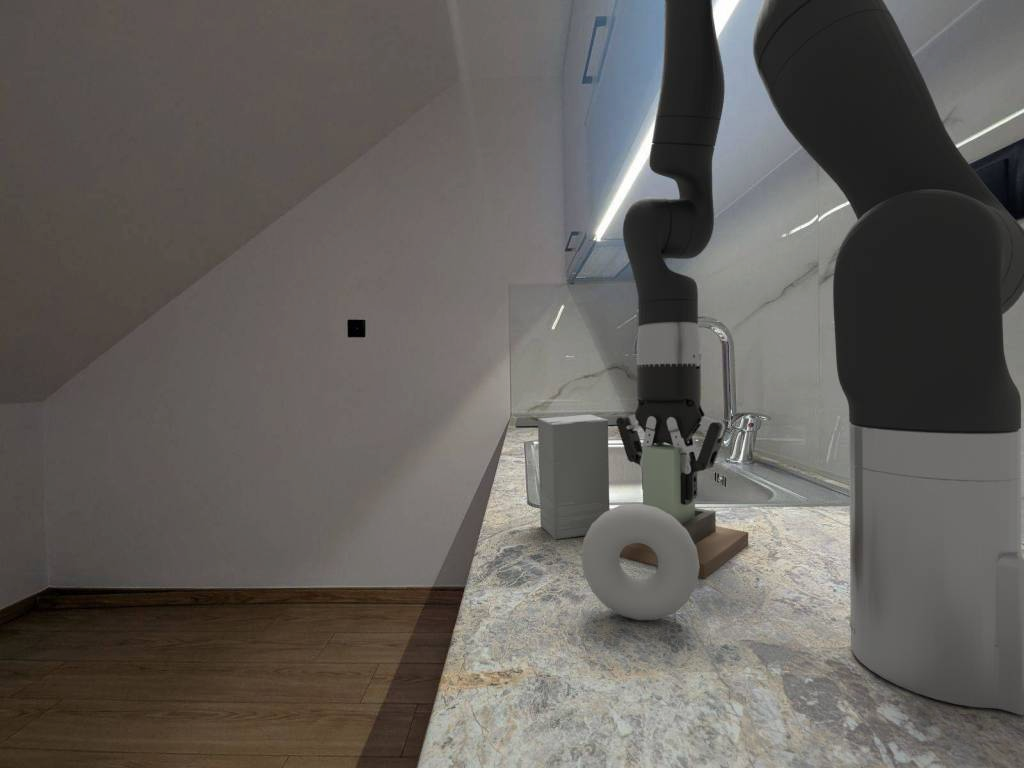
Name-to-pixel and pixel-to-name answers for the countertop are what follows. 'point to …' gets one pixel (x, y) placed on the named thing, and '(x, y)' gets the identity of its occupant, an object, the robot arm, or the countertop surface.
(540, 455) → the skincare box
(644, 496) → the keyed peg
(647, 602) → the donut
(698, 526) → the keyed socket board
